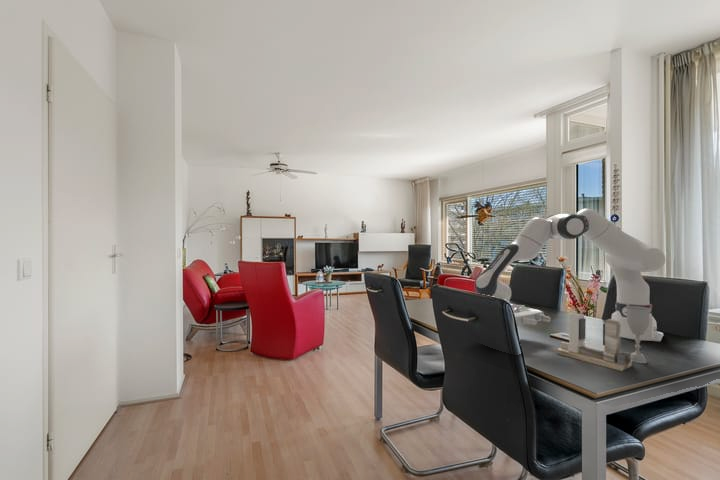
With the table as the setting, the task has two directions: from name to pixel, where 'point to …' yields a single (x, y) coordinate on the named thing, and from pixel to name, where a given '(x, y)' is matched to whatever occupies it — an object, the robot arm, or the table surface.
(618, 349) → the wooden stand
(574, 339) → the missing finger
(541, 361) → the table surface
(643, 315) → the chalice
